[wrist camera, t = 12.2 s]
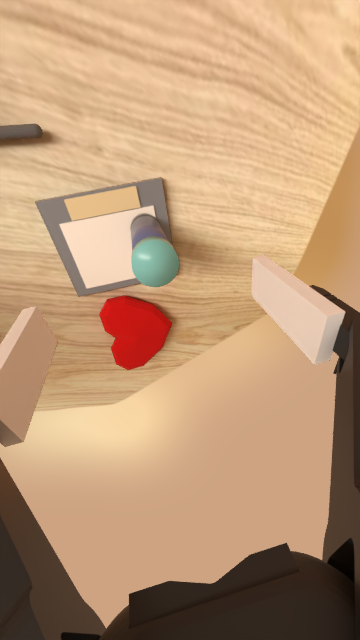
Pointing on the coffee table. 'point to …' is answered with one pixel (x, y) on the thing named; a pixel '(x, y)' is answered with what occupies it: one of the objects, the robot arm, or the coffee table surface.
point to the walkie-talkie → (20, 131)
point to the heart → (134, 330)
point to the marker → (152, 252)
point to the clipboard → (102, 231)
